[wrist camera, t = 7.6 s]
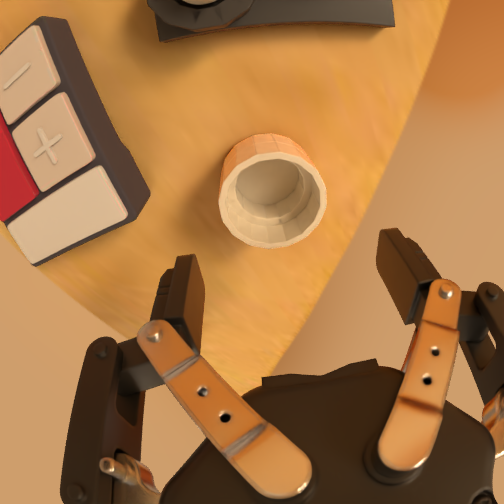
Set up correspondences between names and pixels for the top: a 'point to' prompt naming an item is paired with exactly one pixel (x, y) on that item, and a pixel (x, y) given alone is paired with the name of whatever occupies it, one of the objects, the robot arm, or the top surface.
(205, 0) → the button
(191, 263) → the robot arm
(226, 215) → the bowl
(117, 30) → the top surface
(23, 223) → the calculator
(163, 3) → the grey knob plate
